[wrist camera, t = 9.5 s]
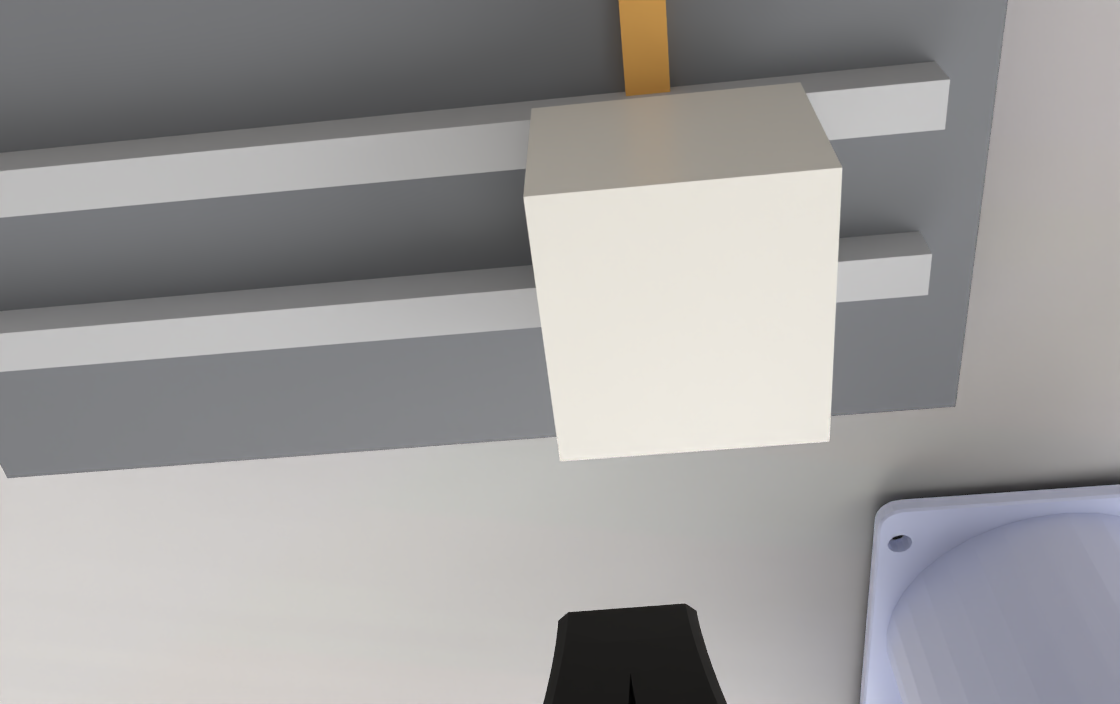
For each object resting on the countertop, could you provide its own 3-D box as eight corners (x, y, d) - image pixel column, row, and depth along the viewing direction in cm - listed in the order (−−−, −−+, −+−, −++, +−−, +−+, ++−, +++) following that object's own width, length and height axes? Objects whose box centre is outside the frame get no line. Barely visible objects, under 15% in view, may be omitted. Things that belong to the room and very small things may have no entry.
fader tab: (786, 305, 19) (829, 441, 16) (562, 324, 19) (560, 461, 16) (791, 63, 16) (842, 167, 13) (533, 89, 17) (523, 196, 13)
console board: (933, 361, 22) (967, 432, 20) (38, 432, 23) (-11, 504, 21) (993, -180, 16) (1049, -153, 14) (-195, -45, 17) (-290, -5, 15)
